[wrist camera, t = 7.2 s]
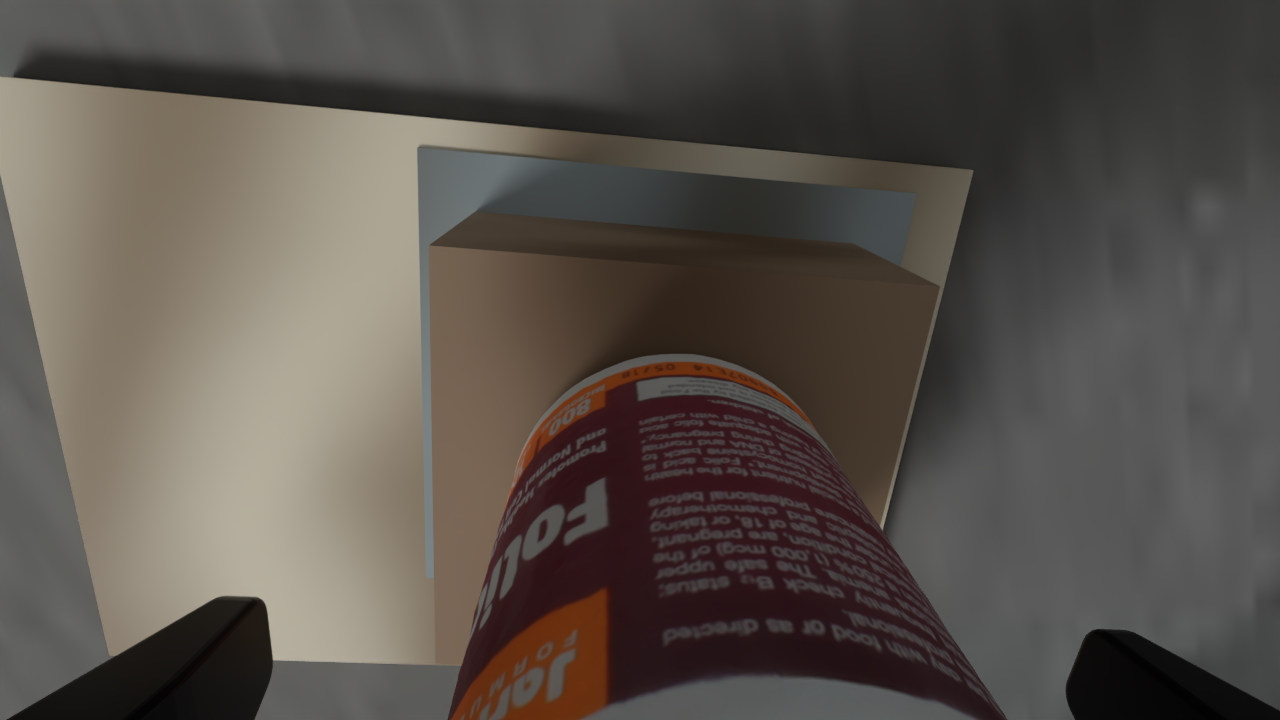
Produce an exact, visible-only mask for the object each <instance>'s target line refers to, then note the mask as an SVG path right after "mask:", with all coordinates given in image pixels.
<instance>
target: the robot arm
mask: <svg viewBox="0 0 1280 720" xmlns="http://www.w3.org/2000/svg"><path fill="white" fill-rule="evenodd" d="M272 668H273V655H272V646H271V638H270V629H269V621H268V613H267V608H266V604H265V603H264V601H263V600H262V599H260V598H258V597H251V596H220V597H217V598H215V599H213V600H211V601H209V602H207V603H206V604H204V605H202V606H200V607H199V608H197V609H195V610H194V611H192V612H190V613H188V614H187V615H185V616H183V617H182V618H180V619H178V620H176V621H175V622H173V623H171V624H170V625H168V626H166V627H164V628H163V629H161V630H159V631H158V632H156V633H154V634H152V635H151V636H149V637H147V638H146V639H144V640H142V641H140V642H139V643H137V644H135V645H134V646H132V647H130V648H128V649H127V650H125V651H123V652H122V653H120V654H118V655H116V656H115V657H113V658H111V659H110V660H108V661H106V662H104V663H103V664H101V665H99V666H98V667H96V668H94V669H92V670H91V671H89V672H87V673H86V674H84V675H82V676H80V677H79V678H77V679H75V680H74V681H72V682H70V683H68V684H67V685H65V686H63V687H62V688H60V689H58V690H56V691H55V692H53V693H51V694H50V695H48V696H46V697H44V698H43V699H41V700H39V701H38V702H36V703H34V704H33V705H31V706H29V707H27V708H26V709H24V710H22V711H21V712H19V713H17V714H15V715H14V716H12V717H10V718H9V719H7V720H254V719H255V717H256V714H257V712H258V709H259V707H260V704H261V702H262V700H263V697H264V695H265V692H266V690H267V687H268V684H269V682H270V678H271V674H272ZM1066 698H1067V702H1068V705H1069V708H1070V710H1071V712H1072V714H1073V716H1074V718H1075V720H1280V711H1279V710H1277V709H1275V708H1274V707H1272V706H1270V705H1268V704H1266V703H1264V702H1262V701H1261V700H1259V699H1257V698H1255V697H1253V696H1251V695H1249V694H1248V693H1246V692H1244V691H1242V690H1240V689H1238V688H1236V687H1235V686H1233V685H1231V684H1229V683H1227V682H1225V681H1223V680H1222V679H1220V678H1218V677H1216V676H1214V675H1212V674H1210V673H1209V672H1207V671H1205V670H1203V669H1201V668H1199V667H1197V666H1196V665H1194V664H1192V663H1190V662H1188V661H1186V660H1184V659H1183V658H1181V657H1179V656H1177V655H1175V654H1173V653H1171V652H1170V651H1168V650H1166V649H1164V648H1162V647H1160V646H1158V645H1157V644H1155V643H1153V642H1151V641H1149V640H1147V639H1145V638H1144V637H1142V636H1140V635H1138V634H1136V633H1134V632H1131V631H1127V630H1111V629H1096V630H1092V631H1091V632H1089V633H1088V634H1087V635H1086V636H1085V638H1084V640H1083V642H1082V645H1081V647H1080V650H1079V652H1078V655H1077V657H1076V660H1075V662H1074V665H1073V667H1072V670H1071V672H1070V675H1069V677H1068V680H1067V683H1066Z"/></svg>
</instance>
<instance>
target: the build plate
mask: <svg viewBox="0 0 1280 720" xmlns="http://www.w3.org/2000/svg"><path fill="white" fill-rule="evenodd" d="M973 171H974V170H968V169H961V168H952V167H941V166H931V165H921V164H910V163H900V162H889V161H879V160H869V159H858V158H848V157H837V156H827V155H817V154H806V153H796V152H785V151H775V150H765V149H754V148H744V147H733V146H723V145H713V144H702V143H692V142H681V141H671V140H661V139H650V138H640V137H629V136H619V135H609V134H598V133H588V132H577V131H567V130H557V129H546V128H536V127H526V126H515V125H505V124H494V123H484V122H474V121H463V120H453V119H442V118H432V117H422V116H411V115H401V114H390V113H380V112H370V111H359V110H349V109H338V108H328V107H318V106H307V105H297V104H286V103H276V102H266V101H255V100H245V99H234V98H224V97H214V96H203V95H193V94H182V93H172V92H162V91H151V90H141V89H130V88H120V87H110V86H99V85H89V84H78V83H68V82H58V81H47V80H37V79H26V78H16V77H5V76H0V175H1V179H2V184H3V188H4V193H5V197H6V201H7V206H8V210H9V215H10V219H11V224H12V228H13V232H14V237H15V241H16V246H17V250H18V255H19V259H20V263H21V268H22V272H23V277H24V281H25V285H26V290H27V294H28V299H29V303H30V308H31V312H32V316H33V321H34V325H35V330H36V334H37V339H38V343H39V347H40V352H41V356H42V361H43V365H44V369H45V374H46V378H47V383H48V387H49V392H50V396H51V400H52V405H53V409H54V414H55V418H56V423H57V427H58V431H59V436H60V440H61V445H62V449H63V453H64V458H65V462H66V467H67V471H68V476H69V480H70V484H71V489H72V493H73V498H74V502H75V507H76V511H77V515H78V520H79V524H80V529H81V533H82V538H83V542H84V546H85V551H86V555H87V560H88V564H89V568H90V573H91V577H92V582H93V586H94V591H95V595H96V599H97V604H98V608H99V613H100V617H101V622H102V626H103V630H104V635H105V639H106V644H107V648H108V652H109V655H115V656H116V655H118V654H120V653H122V652H123V651H125V650H127V649H128V648H130V647H132V646H134V645H135V644H137V643H139V642H140V641H142V640H144V639H146V638H147V637H149V636H151V635H152V634H154V633H156V632H158V631H159V630H161V629H163V628H164V627H166V626H168V625H170V624H171V623H173V622H175V621H176V620H178V619H180V618H182V617H183V616H185V615H187V614H188V613H190V612H192V611H194V610H195V609H197V608H199V607H200V606H202V605H204V604H206V603H207V602H209V601H211V600H213V599H215V598H217V597H220V596H251V597H258V598H260V599H262V600H263V601H264V603H265V604H266V608H267V613H268V621H269V629H270V638H271V646H272V655H273V660H284V661H318V662H352V663H385V664H419V665H453V666H462V665H461V664H435V606H434V544H433V482H432V420H431V358H430V296H429V245H430V244H431V243H433V242H434V241H435V240H437V239H438V238H440V237H441V236H442V235H444V234H445V233H446V232H448V231H449V230H451V229H452V228H453V227H455V226H456V225H457V224H459V223H460V222H462V221H463V220H464V219H466V218H467V217H468V216H470V215H471V214H473V213H474V212H475V211H476V212H488V213H500V214H511V215H523V216H535V217H547V218H559V219H570V220H582V221H594V222H606V223H618V224H629V225H641V226H653V227H665V228H677V229H688V230H700V231H712V232H724V233H736V234H747V235H759V236H771V237H783V238H795V239H806V240H818V241H830V242H842V243H853V244H855V245H857V246H859V247H861V248H863V249H865V250H868V251H870V252H872V253H874V254H876V255H878V256H880V257H882V258H884V259H886V260H888V261H890V262H892V263H894V264H896V265H898V266H900V267H902V268H904V269H906V270H908V271H910V272H912V273H914V274H916V275H918V276H920V277H922V278H924V279H926V280H928V281H930V282H932V283H934V284H936V285H938V286H940V289H939V293H938V297H937V301H936V305H935V309H934V313H933V317H932V321H931V325H930V329H929V333H928V337H927V341H926V345H925V349H924V353H923V357H922V361H921V365H920V369H919V373H918V377H917V381H916V385H915V389H914V393H913V397H912V401H911V405H910V409H909V413H908V417H907V421H906V425H905V429H904V433H903V437H902V441H901V445H900V449H899V453H898V457H897V461H896V465H895V469H894V473H893V477H892V481H891V485H890V489H889V493H888V497H887V501H886V505H885V509H884V513H883V517H882V521H881V525H880V527H881V529H882V530H883V527H884V523H885V519H886V515H887V511H888V507H889V503H890V499H891V495H892V491H893V487H894V483H895V479H896V475H897V472H898V468H899V464H900V460H901V456H902V452H903V448H904V444H905V440H906V436H907V432H908V428H909V424H910V420H911V416H912V412H913V408H914V404H915V400H916V396H917V392H918V389H919V385H920V381H921V377H922V373H923V369H924V365H925V361H926V357H927V353H928V349H929V345H930V341H931V337H932V333H933V329H934V325H935V321H936V317H937V313H938V309H939V306H940V302H941V298H942V294H943V290H944V286H945V282H946V278H947V274H948V270H949V266H950V262H951V258H952V254H953V250H954V246H955V242H956V238H957V234H958V230H959V226H960V223H961V219H962V215H963V211H964V207H965V203H966V199H967V195H968V191H969V187H970V183H971V179H972V175H973Z"/></svg>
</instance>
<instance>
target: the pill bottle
mask: <svg viewBox="0 0 1280 720" xmlns="http://www.w3.org/2000/svg"><path fill="white" fill-rule="evenodd" d="M448 720H1007V718H1006V717H1005V715H1004V714H1003V712H1002V711H1001V709H1000V708H999V706H998V705H997V703H996V702H995V700H994V699H993V697H992V696H991V694H990V693H989V691H988V690H987V688H986V687H985V686H984V684H983V683H982V682H981V680H980V679H979V677H978V675H977V674H976V672H975V670H974V669H973V667H972V666H971V664H970V663H969V661H968V660H967V658H966V657H965V655H964V654H963V653H962V651H961V650H960V648H959V647H958V645H957V644H956V642H955V641H954V640H953V638H952V637H951V635H950V633H949V632H948V630H947V629H946V627H945V626H944V624H943V623H942V621H941V619H940V618H939V616H938V614H937V613H936V611H935V610H934V608H933V607H932V605H931V603H930V602H929V600H928V599H927V597H926V596H925V594H924V593H923V591H922V590H921V589H920V587H919V586H918V584H917V583H916V581H915V580H914V578H913V577H912V575H911V574H910V572H909V570H908V569H907V567H906V566H905V564H904V563H903V561H902V560H901V558H900V557H899V555H898V554H897V552H896V551H895V549H894V548H893V546H892V545H891V543H890V541H889V540H888V538H887V537H886V535H885V534H884V532H883V530H882V529H881V527H880V526H879V524H878V523H877V522H876V520H875V519H874V517H873V516H872V514H871V513H870V511H869V510H868V508H867V507H866V505H865V504H864V502H863V501H862V499H861V498H860V496H859V495H858V493H857V492H856V490H855V488H854V487H853V485H852V484H851V482H850V481H849V479H848V477H847V476H846V474H845V473H844V471H843V470H842V468H841V466H840V465H839V463H838V462H837V460H836V459H835V457H834V455H833V454H832V452H831V451H830V449H829V447H828V446H827V444H826V443H825V442H824V441H823V439H822V438H821V437H820V435H819V434H818V432H817V431H816V429H815V428H814V426H813V425H812V423H811V422H810V420H809V419H808V417H807V416H806V415H805V414H804V412H803V411H802V410H801V409H800V407H799V406H798V405H797V404H796V403H795V402H794V401H793V400H792V399H791V398H790V397H789V396H788V395H787V394H785V393H784V392H783V391H782V390H780V389H779V388H778V387H777V386H775V385H774V384H773V383H771V382H770V381H768V380H766V379H765V378H763V377H761V376H760V375H758V374H756V373H754V372H752V371H750V370H747V369H745V368H743V367H741V366H738V365H736V364H733V363H729V362H726V361H723V360H720V359H716V358H711V357H706V356H701V355H695V354H659V355H651V356H643V357H638V358H634V359H631V360H627V361H624V362H622V363H619V364H617V365H614V366H611V367H609V368H606V369H604V370H602V371H600V372H598V373H596V374H594V375H592V376H590V377H588V378H585V379H584V380H582V381H581V382H579V383H578V384H576V385H575V386H573V387H572V388H571V389H569V390H568V391H567V392H565V393H564V394H563V395H562V396H561V397H560V398H559V399H558V400H557V401H556V402H555V403H554V404H553V405H552V406H551V407H550V408H549V409H548V410H547V411H546V412H545V413H544V414H543V415H542V417H541V418H540V419H539V421H538V422H537V424H536V425H535V427H534V429H533V430H532V432H531V433H530V435H529V437H528V439H527V441H526V443H525V445H524V447H523V450H522V452H521V455H520V457H519V460H518V462H517V466H516V470H515V474H514V478H513V482H512V486H511V489H510V493H509V496H508V500H507V503H506V507H505V510H504V514H503V517H502V519H501V522H500V526H499V528H498V533H497V536H496V540H495V543H494V547H493V550H492V554H491V557H490V560H489V565H488V570H487V574H486V577H485V580H484V583H483V586H482V590H481V594H480V597H479V600H478V603H477V606H476V609H475V612H474V617H473V623H472V629H471V634H470V638H469V641H468V645H467V649H466V653H465V656H464V659H463V662H462V666H461V669H460V672H459V675H458V681H457V684H456V688H455V692H454V696H453V700H452V705H451V709H450V713H449V716H448Z"/></svg>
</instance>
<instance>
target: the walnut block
mask: <svg viewBox="0 0 1280 720" xmlns="http://www.w3.org/2000/svg"><path fill="white" fill-rule="evenodd" d="M939 289H940V286H938V285H936V284H934V283H932V282H930V281H928V280H926V279H924V278H922V277H920V276H918V275H916V274H914V273H912V272H910V271H908V270H906V269H904V268H902V267H900V266H898V265H896V264H894V263H892V262H890V261H888V260H886V259H884V258H882V257H880V256H878V255H876V254H874V253H872V252H870V251H868V250H865V249H863V248H861V247H859V246H857V245H855V244H853V243H842V242H830V241H818V240H806V239H795V238H783V237H771V236H759V235H747V234H736V233H724V232H712V231H700V230H688V229H677V228H665V227H653V226H641V225H629V224H618V223H606V222H594V221H582V220H570V219H559V218H547V217H535V216H523V215H511V214H500V213H488V212H476V211H475V212H474V213H473V214H471V215H470V216H468V217H467V218H466V219H464V220H463V221H462V222H460V223H459V224H457V225H456V226H455V227H453V228H452V229H451V230H449V231H448V232H446V233H445V234H444V235H442V236H441V237H440V238H438V239H437V240H435V241H434V242H433V243H431V244H430V245H429V296H430V358H431V420H432V482H433V544H434V606H435V664H461V665H462V662H463V659H464V656H465V653H466V649H467V645H468V641H469V638H470V634H471V629H472V623H473V617H474V612H475V609H476V606H477V603H478V600H479V597H480V594H481V590H482V586H483V583H484V580H485V577H486V574H487V570H488V565H489V560H490V557H491V554H492V550H493V547H494V543H495V540H496V536H497V533H498V528H499V526H500V522H501V519H502V517H503V514H504V510H505V507H506V503H507V500H508V496H509V493H510V489H511V486H512V482H513V478H514V474H515V470H516V466H517V462H518V460H519V457H520V455H521V452H522V450H523V447H524V445H525V443H526V441H527V439H528V437H529V435H530V433H531V432H532V430H533V429H534V427H535V425H536V424H537V422H538V421H539V419H540V418H541V417H542V415H543V414H544V413H545V412H546V411H547V410H548V409H549V408H550V407H551V406H552V405H553V404H554V403H555V402H556V401H557V400H558V399H559V398H560V397H561V396H562V395H563V394H564V393H565V392H567V391H568V390H569V389H571V388H572V387H573V386H575V385H576V384H578V383H579V382H581V381H582V380H584V379H585V378H588V377H590V376H592V375H594V374H596V373H598V372H600V371H602V370H604V369H606V368H609V367H611V366H614V365H617V364H619V363H622V362H624V361H627V360H631V359H634V358H638V357H643V356H651V355H659V354H695V355H701V356H706V357H711V358H716V359H720V360H723V361H726V362H729V363H733V364H736V365H738V366H741V367H743V368H745V369H747V370H750V371H752V372H754V373H756V374H758V375H760V376H761V377H763V378H765V379H766V380H768V381H770V382H771V383H773V384H774V385H775V386H777V387H778V388H779V389H780V390H782V391H783V392H784V393H785V394H787V395H788V396H789V397H790V398H791V399H792V400H793V401H794V402H795V403H796V404H797V405H798V406H799V407H800V409H801V410H802V411H803V412H804V414H805V415H806V416H807V417H808V419H809V420H810V422H811V423H812V425H813V426H814V428H815V429H816V431H817V432H818V434H819V435H820V437H821V438H822V439H823V441H824V442H825V443H826V444H827V446H828V447H829V449H830V451H831V452H832V454H833V455H834V457H835V459H836V460H837V462H838V463H839V465H840V466H841V468H842V470H843V471H844V473H845V474H846V476H847V477H848V479H849V481H850V482H851V484H852V485H853V487H854V488H855V490H856V492H857V493H858V495H859V496H860V498H861V499H862V501H863V502H864V504H865V505H866V507H867V508H868V510H869V511H870V513H871V514H872V516H873V517H874V519H875V520H876V522H877V523H878V524H879V526H880V525H881V521H882V517H883V513H884V509H885V505H886V501H887V497H888V493H889V489H890V485H891V481H892V477H893V473H894V469H895V465H896V461H897V457H898V453H899V449H900V445H901V441H902V437H903V433H904V429H905V425H906V421H907V417H908V413H909V409H910V405H911V401H912V397H913V393H914V389H915V385H916V381H917V377H918V373H919V369H920V365H921V361H922V357H923V353H924V349H925V345H926V341H927V337H928V333H929V329H930V325H931V321H932V317H933V313H934V309H935V305H936V301H937V297H938V293H939Z"/></svg>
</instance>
